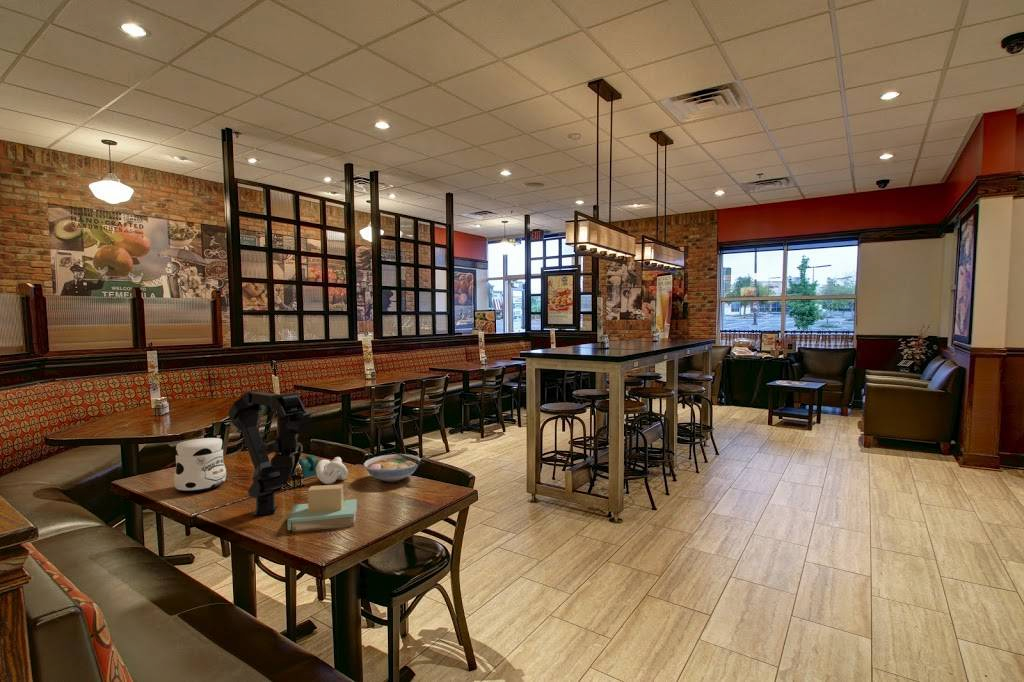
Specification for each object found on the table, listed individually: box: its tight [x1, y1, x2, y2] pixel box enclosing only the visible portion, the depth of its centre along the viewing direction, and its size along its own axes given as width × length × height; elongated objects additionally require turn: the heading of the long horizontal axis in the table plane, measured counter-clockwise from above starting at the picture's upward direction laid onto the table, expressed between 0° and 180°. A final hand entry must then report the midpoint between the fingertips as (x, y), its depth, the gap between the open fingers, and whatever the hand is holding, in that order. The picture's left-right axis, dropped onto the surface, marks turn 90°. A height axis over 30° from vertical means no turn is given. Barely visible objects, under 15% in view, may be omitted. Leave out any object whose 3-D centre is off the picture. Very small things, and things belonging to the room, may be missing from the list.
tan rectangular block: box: [307, 483, 345, 512], centre depth 156 cm, size 4×10×7 cm, turn 98°
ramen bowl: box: [363, 451, 425, 483], centre depth 199 cm, size 25×23×8 cm
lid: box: [287, 498, 358, 531], centre depth 156 cm, size 13×19×3 cm
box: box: [291, 503, 358, 533], centre depth 156 cm, size 13×18×3 cm
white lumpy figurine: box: [316, 456, 349, 485], centre depth 198 cm, size 11×12×9 cm
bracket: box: [299, 454, 319, 479], centre depth 208 cm, size 18×7×8 cm, turn 60°
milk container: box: [173, 437, 227, 493], centre depth 190 cm, size 17×17×18 cm
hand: (288, 479), depth 157 cm, fingers open, 9 cm apart
